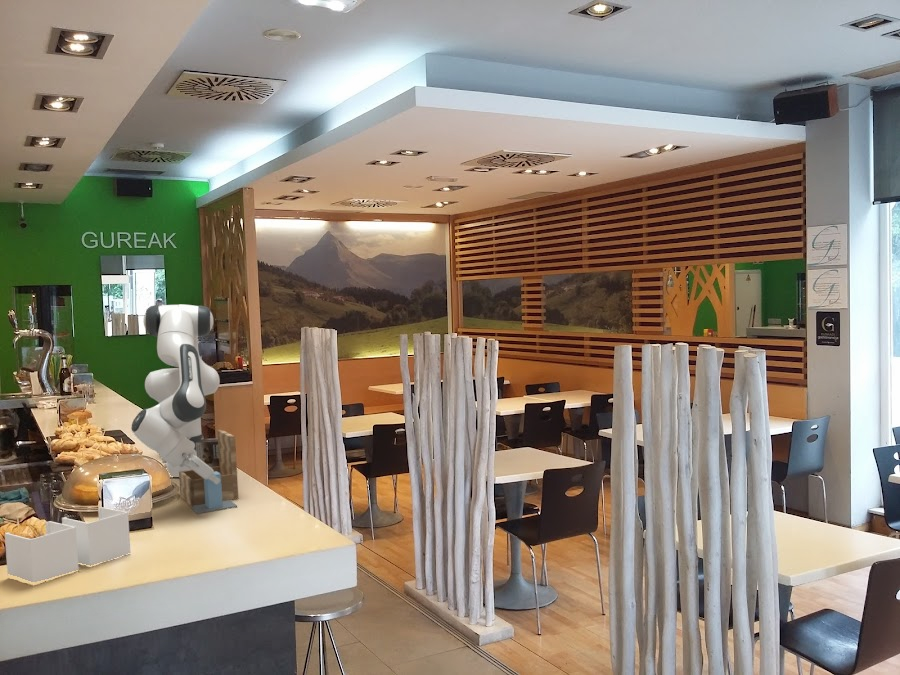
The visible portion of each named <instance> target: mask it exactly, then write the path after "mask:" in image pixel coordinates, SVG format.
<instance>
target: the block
mask: <svg viewBox="0 0 900 675" xmlns="http://www.w3.org/2000/svg"><path fill="white" fill-rule="evenodd" d="M213 473H214V474H215V475H216V476H217V477H218V478H219V479H220V482H219V483H218V484H215V483H214V482H213V481H211V480H209V479H207V480H205V479H204V491H205V505H206V506H207V507H208V508H209V509H211V508H217V507H223V504H222V486H221V474H220V473H219V472H217V471H215V472H213Z"/></svg>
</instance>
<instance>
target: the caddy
mask: <svg viewBox="0 0 900 675" xmlns="http://www.w3.org/2000/svg"><path fill="white" fill-rule="evenodd" d="M217 438H218V450H219V466H216V467H211V468H212V469H213V470H214V472H215V471H217V472H219V473H220V474H221V486H222V501H225V500H231V501H233V500H232V499H234V500H238V499H239V485H238V481H239V480H238V467H237V464H238V463H237V450H236V449H237V447H236V436H235V435H233V434H232V433H229V432H227V431H225V430H223V429H218V430H217ZM178 479H179V488H180V489H179V491H180V497H181V499H183V500H184V501H185V502H186V503H187V504H189V505H190V507H191V506H195V505H201V504H205V491H204V479H203V478H202V477H201V476H200V475H198V474H197V473H196V472H194V471H193V470H188V471H181V472H179V478H178ZM237 498H238V499H237Z"/></svg>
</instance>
